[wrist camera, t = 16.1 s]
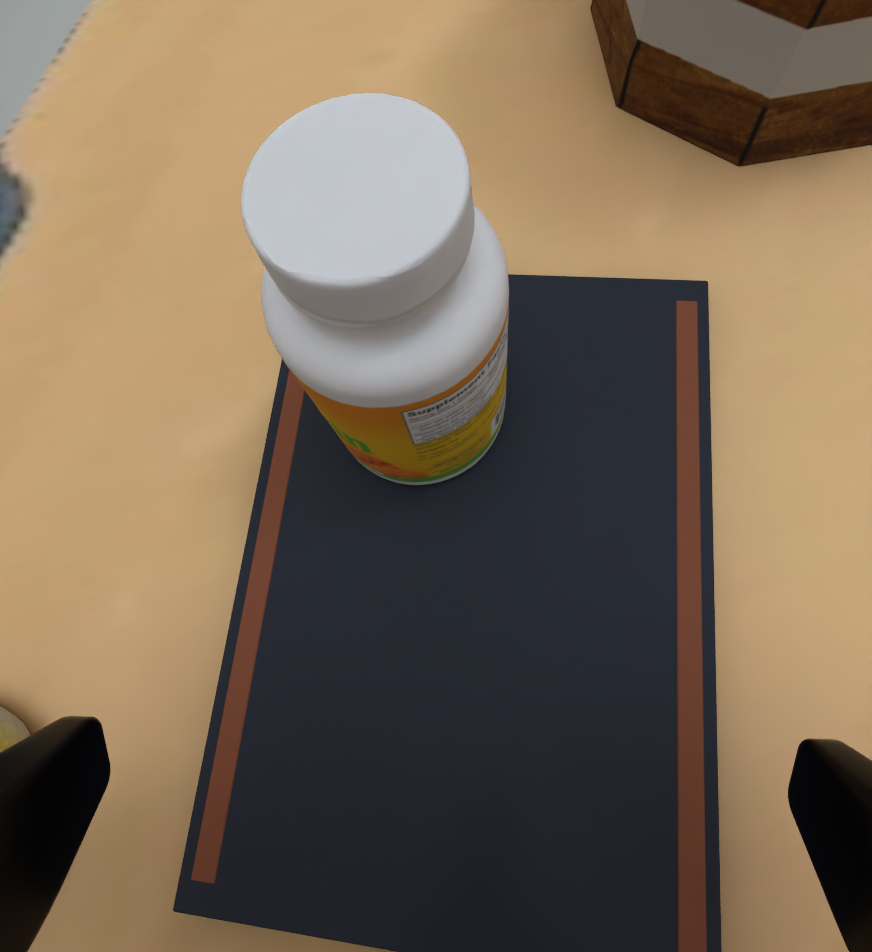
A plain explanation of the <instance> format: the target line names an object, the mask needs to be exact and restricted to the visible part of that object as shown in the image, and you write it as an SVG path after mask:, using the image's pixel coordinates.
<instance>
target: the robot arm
mask: <svg viewBox="0 0 872 952" xmlns="http://www.w3.org/2000/svg"><path fill="white" fill-rule="evenodd" d="M109 777H110V762H109V757H108V752H107V748H106V743H105V738H104V734H103V729H102V725H101V723H100V721H99V720H98V719H97V718H94V717H83V716H67V717H63V718H61V719H59V720H57V721H55V722H53V723H51V724H50V725H48V726H46V727H44V728H43V729H41V730H39V731H37V732H35V733H34V734H32V735H30V736H28V737H27V738H25V739H23V740H21V741H20V742H18V743H16V744H14V745H12V746H11V747H9V748H7V749H5V750H4V751H2V752H0V952H27V951H28V950H29V948H30V946H31V944H32V942H33V941H34V939H35V937H36V935H37V933H38V932H39V930H40V928H41V926H42V924H43V922H44V921H45V919H46V917H47V915H48V913H49V911H50V909H51V907H52V905H53V903H54V901H55V899H56V897H57V895H58V893H59V891H60V888H61V886H62V884H63V882H64V880H65V878H66V875H67V873H68V871H69V869H70V867H71V864H72V862H73V860H74V858H75V856H76V853H77V851H78V849H79V847H80V845H81V842H82V840H83V838H84V836H85V834H86V831H87V829H88V827H89V825H90V823H91V820H92V818H93V816H94V814H95V812H96V810H97V807H98V805H99V803H100V801H101V799H102V796H103V794H104V792H105V790H106V787H107V785H108V781H109ZM788 799H789V805H790V808H791V811H792V814H793V817H794V819H795V821H796V824H797V826H798V829H799V831H800V834H801V836H802V839H803V841H804V844H805V846H806V849H807V851H808V854H809V856H810V859H811V861H812V864H813V866H814V868H815V871H816V873H817V876H818V878H819V881H820V883H821V886H822V888H823V891H824V893H825V896H826V898H827V901H828V903H829V906H830V908H831V911H832V913H833V916H834V918H835V920H836V923H837V925H838V928H839V930H840V932H841V934H842V937H843V939H844V941H845V944H846V946H847V948H848V950H849V952H872V760H870V759H868V758H867V757H865V756H864V755H862V754H860V753H859V752H857V751H856V750H854V749H853V748H851V747H849V746H848V745H846V744H844V743H843V742H841V741H838V740H833V739H806V740H803V741H802V742H801V743H800V745H799V747H798V751H797V755H796V759H795V763H794V767H793V771H792V775H791V779H790V783H789V788H788Z"/></svg>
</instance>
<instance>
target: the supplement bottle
mask: <svg viewBox="0 0 872 952" xmlns="http://www.w3.org/2000/svg"><path fill="white" fill-rule="evenodd" d="M241 210H242V216H243V222H244V225H245V228H246V232H247V234H248V236H249V238H250V241H251V243H252V245H253V246H254V248H255V250H256V252H257V253H258V255H259V257H260V259H261V261H262V263H263V265H264V266H265V269H264V274H263V281H262V295H261V296H262V308H263V314H264V319H265V323H266V326H267V329H268V332H269V335H270V337H271V339H272V341H273V343H274V345H275V347H276V349H277V351H278V352H279V354H280V355H281V357H282V359H283V361H284V362H285V364H286V365H287V367H288V368H289V369H290V371H291V372H292V373H293V375H294V376H295V377H296V379H297V380H298V382H299V383H300V384H301V386H302V387H303V388H304V390H305V391H306V393H307V394H308V395H309V397H310V398H311V399H312V401H313V402H314V404H315V405H316V406H317V408H318V409H319V411H320V412H321V414H322V415H323V416H324V417H325V419H326V420H327V421H328V422H329V424H330V425H331V427H332V428H333V429H334V431H335V432H336V433H337V435H338V436H339V438H340V439H341V440H342V442H343V443H344V444H345V446H346V447H347V449H348V450H349V451H350V452H351V453H352V455H353V456H354V457H355V458H356V459H357V460H358V461H359V462H360V463H361V464H362V465H363V466H364V467H365V468H367V469H368V470H370V471H371V472H373V473H374V474H376V475H378V476H380V477H382V478H384V479H387V480H390V481H393V482H397V483H401V484H408V485H425V484H433V483H438V482H441V481H444V480H447V479H450V478H452V477H455V476H457V475H459V474H461V473H463V472H464V471H466V470H467V469H469V468H470V467H472V466H473V465H474V464H476V463H477V462H478V461H479V460H480V459H481V458H482V457H483V456H484V455H485V453H486V452H487V451H488V449H489V448H490V447H491V445H492V444H493V442H494V440H495V438H496V436H497V434H498V432H499V429H500V427H501V424H502V420H503V416H504V410H505V400H506V374H507V341H508V313H509V281H508V269H507V263H506V258H505V254H504V251H503V248H502V246H501V243H500V241H499V239H498V236H497V234H496V232H495V231H494V229H493V227H492V226H491V224H490V222H489V221H488V219H487V218H486V217H485V216H484V214H483V213H482V212H481V211H480V210H479V209H478V208H477V207H476V206H475V205H474V204H473V200H472V190H471V178H470V169H469V164H468V160H467V156H466V154H465V151H464V149H463V146H462V144H461V142H460V140H459V139H458V137H457V136H456V134H455V133H454V131H453V130H452V128H451V127H450V126H449V125H448V124H447V123H446V122H445V121H444V120H443V119H442V118H441V117H440V116H438V115H437V114H436V113H434V112H433V111H431V110H430V109H428V108H427V107H425V106H423V105H421V104H419V103H416V102H414V101H412V100H409V99H406V98H402V97H398V96H394V95H388V94H379V93H360V94H351V95H345V96H340V97H335V98H331V99H328V100H325V101H322V102H320V103H317V104H315V105H312V106H310V107H308V108H306V109H304V110H303V111H301V112H299V113H297V114H295V115H294V116H292V117H291V118H289V119H288V120H287V121H285V122H284V123H283V124H281V125H280V126H279V127H278V128H277V129H276V130H274V131H273V132H272V133H271V135H270V136H269V137H268V138H267V139H266V140H265V141H264V142H263V144H262V145H261V146H260V148H259V149H258V151H257V153H256V154H255V156H254V157H253V159H252V161H251V163H250V165H249V168H248V170H247V173H246V176H245V179H244V183H243V188H242V197H241Z"/></svg>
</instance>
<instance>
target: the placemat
mask: <svg viewBox="0 0 872 952" xmlns="http://www.w3.org/2000/svg"><path fill="white" fill-rule="evenodd" d="M508 281H509V313H508V341H507V374H506V400H505V410H504V416H503V420H502V424H501V427H500V429H499V432H498V434H497V436H496V438H495V440H494V442H493V444H492V445H491V447H490V448H489V449H488V451H487V452H486V453H485V455H484V456H483V457H482V458H481V459H480V460H479V461H478V462H477V463H476V464H474V465H473V466H472V467H470V468H469V469H467V470H466V471H464V472H463V473H461V474H459V475H457V476H455V477H452V478H450V479H447V480H444V481H441V482H438V483H433V484H425V485H408V484H401V483H397V482H393V481H390V480H387V479H384V478H382V477H380V476H378V475H376V474H374V473H373V472H371V471H370V470H368V469H367V468H365V467H364V466H363V465H362V464H361V463H360V462H359V461H358V460H357V459H356V458H355V457H354V456H353V455H352V453H351V452H350V451H349V450H348V449H347V447H346V446H345V444H344V443H343V442H342V440H341V439H340V438H339V436H338V435H337V433H336V432H335V431H334V429H333V428H332V427H331V425H330V424H329V422H328V421H327V420H326V419H325V417H324V416H323V415H322V414H321V412H320V411H319V409H318V408H317V406H316V405H315V404H314V402H313V401H312V399H311V398H310V397H309V395H308V394H307V393H306V391H305V390H304V388H303V387H302V386H301V384H300V383H299V382H298V380H297V379H296V377H295V376H294V375H293V373H292V372H291V371H290V369H289V368H288V367H287V365H286V364H285V362H284V361H283V359H282V363H281V368H280V373H279V378H278V383H277V388H276V393H275V398H274V403H273V408H272V413H271V418H270V423H269V428H268V433H267V438H266V443H265V448H264V453H263V459H262V464H261V469H260V474H259V479H258V484H257V489H256V494H255V499H254V504H253V509H252V514H251V519H250V524H249V529H248V534H247V539H246V544H245V549H244V555H243V560H242V565H241V570H240V575H239V580H238V585H237V590H236V595H235V600H234V605H233V610H232V615H231V620H230V625H229V630H228V635H227V640H226V645H225V651H224V656H223V661H222V666H221V671H220V676H219V681H218V686H217V691H216V696H215V701H214V706H213V711H212V716H211V721H210V726H209V731H208V736H207V741H206V746H205V752H204V757H203V762H202V767H201V772H200V777H199V782H198V787H197V792H196V797H195V802H194V807H193V812H192V817H191V822H190V827H189V832H188V837H187V842H186V848H185V853H184V858H183V863H182V868H181V873H180V878H179V883H178V888H177V893H176V898H175V903H174V908H173V911H174V912H179V913H185V914H190V915H196V916H202V917H207V918H213V919H218V920H224V921H229V922H235V923H241V924H246V925H252V926H257V927H263V928H268V929H274V930H280V931H285V932H291V933H296V934H302V935H307V936H313V937H319V938H324V939H330V940H335V941H341V942H346V943H352V944H358V945H363V946H369V947H374V948H380V949H386V950H391V951H397V952H721V907H720V858H719V808H718V758H717V709H716V659H715V609H714V560H713V510H712V460H711V411H710V361H709V311H708V282H707V281H690V280H660V279H629V278H598V277H568V276H537V275H508Z"/></svg>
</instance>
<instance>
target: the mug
mask: <svg viewBox="0 0 872 952" xmlns="http://www.w3.org/2000/svg"><path fill="white" fill-rule="evenodd" d="M591 12H592V16H593V19H594V23H595V27H596V31H597V35H598V38H599V42H600V46H601V50H602V53H603V57H604V61H605V65H606V69H607V72H608V76H609V80H610V84H611V87H612V91H613V95H614V99H615V103H616V106H618V107H620V108H622V109H624V110H626V111H628V112H630V113H632V114H635V115H637V116H639V117H641V118H643V119H645V120H647V121H649V122H651V123H653V124H655V125H657V126H659V127H661V128H663V129H665V130H667V131H669V132H671V133H673V134H676V135H678V136H680V137H682V138H684V139H686V140H688V141H690V142H692V143H694V144H696V145H698V146H700V147H702V148H704V149H706V150H708V151H710V152H712V153H714V154H717V155H719V156H721V157H723V158H725V159H727V160H729V161H731V162H733V163H735V164H737V165H739V166H741V165H747V164H753V163H759V162H765V161H771V160H777V159H783V158H789V157H795V156H801V155H807V154H813V153H819V152H825V151H831V150H837V149H843V148H849V147H855V146H861V145H868V144H872V0H593V1H592V5H591Z"/></svg>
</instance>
